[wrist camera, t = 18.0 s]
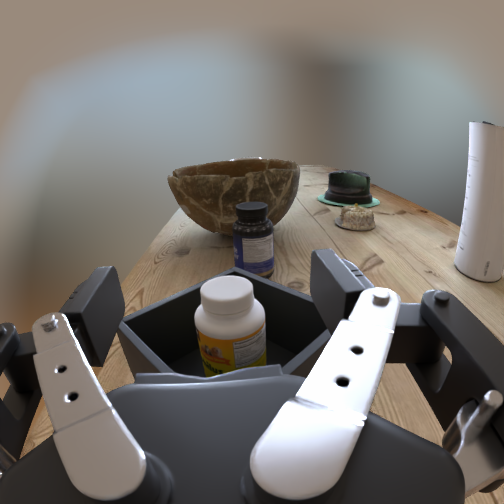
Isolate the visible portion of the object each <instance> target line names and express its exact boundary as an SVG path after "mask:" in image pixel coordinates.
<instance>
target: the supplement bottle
mask: <svg viewBox="0 0 504 504" xmlns="http://www.w3.org/2000/svg"><path fill="white" fill-rule="evenodd" d="M200 293H201V305H200V306H199V307H198V308H197V310H196V312H195V316H194V319H195V326H196V331H197V337H198V342H199V347H200V352H201V357H202V362H203V366H204V371H205V376H206V378H208V377H212V376H216V375H220V374H224V373H228V372H232V371H235V370H239V369H243V368H250V367H259V366H266V332H265V312H264V308H263V306H262V305H261V304H260V303H259V302H258V301H257V300H256V299H254V295H253V285H252V283H251V282H250V281H249V280H247V279H245V278H243V277H239V276H220V277H216V278H213V279H211V280H209V281H207V282H205V283H204V284H203V285H202V287H201V290H200Z"/></svg>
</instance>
